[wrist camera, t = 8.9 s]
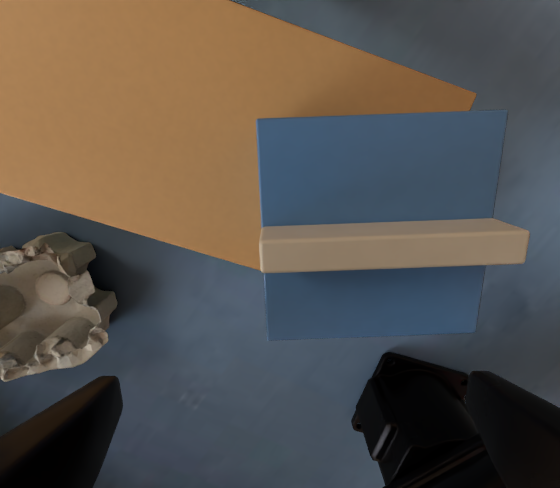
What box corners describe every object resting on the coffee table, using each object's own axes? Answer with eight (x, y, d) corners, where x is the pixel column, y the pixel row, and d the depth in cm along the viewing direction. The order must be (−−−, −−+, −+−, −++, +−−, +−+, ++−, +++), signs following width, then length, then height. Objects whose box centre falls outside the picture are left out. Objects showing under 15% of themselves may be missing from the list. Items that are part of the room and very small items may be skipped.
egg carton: (90, 220, 20) (45, 239, 16) (133, 329, 22) (103, 368, 18) (-76, 259, 21) (-158, 286, 17) (-19, 362, 23) (-79, 408, 19)
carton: (386, 126, 15) (556, 103, 6) (380, 242, 16) (508, 363, 7) (266, 131, 15) (251, 113, 6) (271, 246, 16) (265, 373, 7)
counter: (431, 105, 19) (477, 93, 14) (360, 273, 21) (381, 307, 17) (51, -35, 17) (-28, -98, 12) (27, 172, 19) (-44, 180, 15)
